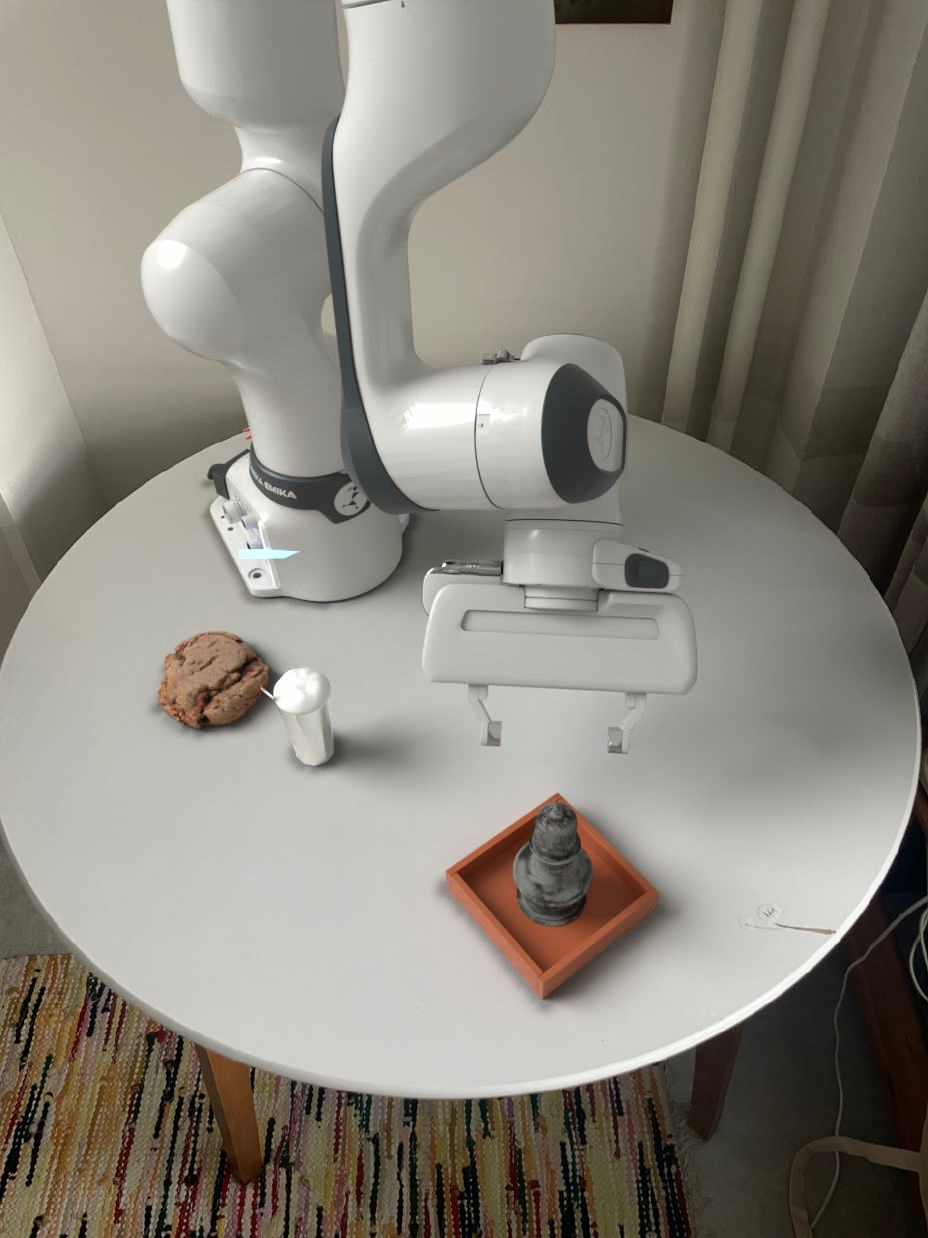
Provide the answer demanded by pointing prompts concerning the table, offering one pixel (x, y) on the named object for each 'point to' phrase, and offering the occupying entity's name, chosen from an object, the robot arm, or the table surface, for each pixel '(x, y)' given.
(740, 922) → the table surface
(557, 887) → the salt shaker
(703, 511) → the table surface
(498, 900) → the tray
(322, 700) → the milkshake cup
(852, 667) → the table surface
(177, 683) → the cookie
